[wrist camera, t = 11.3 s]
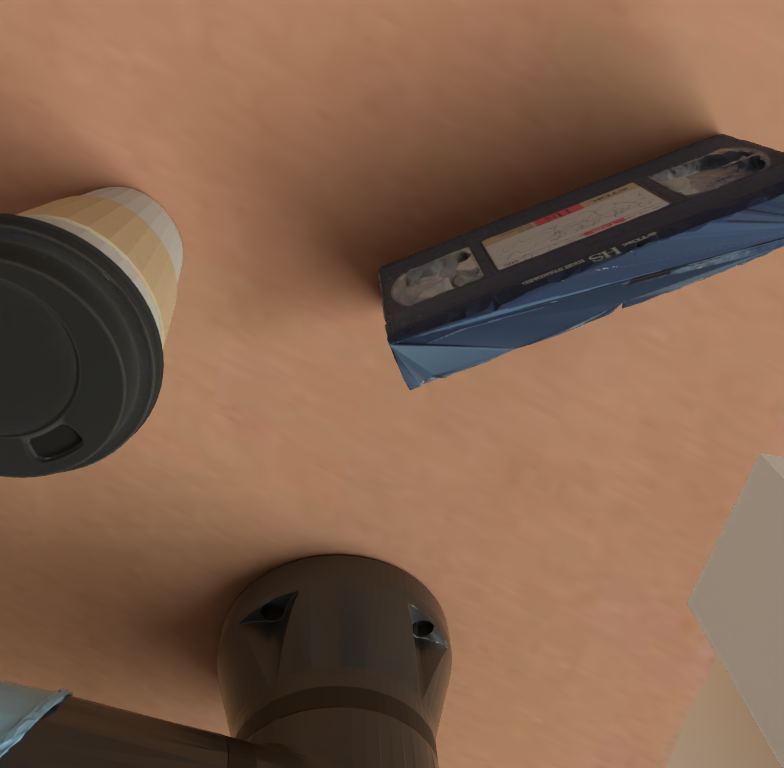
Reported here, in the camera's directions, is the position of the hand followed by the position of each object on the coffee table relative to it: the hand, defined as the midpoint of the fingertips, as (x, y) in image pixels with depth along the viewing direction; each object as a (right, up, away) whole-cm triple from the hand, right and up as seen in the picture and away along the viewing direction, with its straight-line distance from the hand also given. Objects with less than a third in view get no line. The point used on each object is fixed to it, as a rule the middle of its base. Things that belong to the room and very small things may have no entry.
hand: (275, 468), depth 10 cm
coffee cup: (-12, +8, +28) cm, 31 cm away
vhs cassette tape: (+10, +9, +28) cm, 32 cm away
